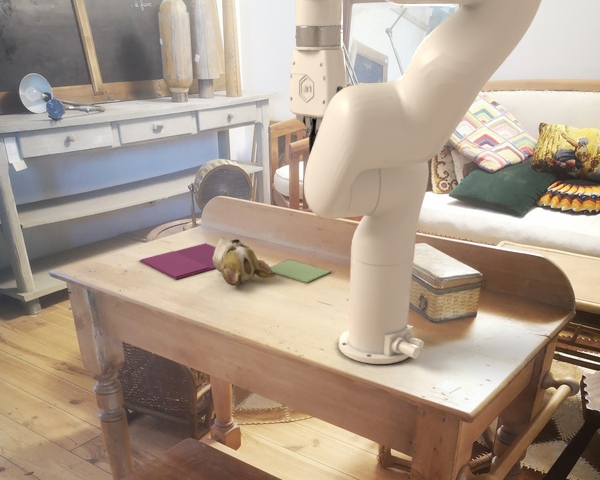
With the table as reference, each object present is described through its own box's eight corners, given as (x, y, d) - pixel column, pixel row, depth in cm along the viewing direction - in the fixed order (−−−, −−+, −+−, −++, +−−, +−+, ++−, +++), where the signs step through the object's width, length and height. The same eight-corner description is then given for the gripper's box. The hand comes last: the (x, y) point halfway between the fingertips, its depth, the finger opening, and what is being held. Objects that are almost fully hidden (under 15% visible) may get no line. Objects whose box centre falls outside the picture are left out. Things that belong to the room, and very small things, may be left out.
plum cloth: (244, 260, 136) (244, 258, 136) (176, 279, 126) (176, 277, 126) (205, 244, 146) (205, 242, 146) (139, 261, 136) (139, 259, 136)
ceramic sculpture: (242, 224, 129) (278, 246, 119) (244, 262, 134) (279, 286, 124) (197, 233, 124) (231, 257, 114) (201, 272, 129) (233, 298, 119)
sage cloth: (330, 272, 129) (330, 271, 128) (306, 283, 123) (306, 281, 123) (289, 260, 135) (289, 259, 135) (265, 270, 130) (265, 269, 130)
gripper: (272, 39, 100) (276, 156, 109) (334, 40, 90) (332, 167, 100) (305, 38, 104) (306, 150, 114) (368, 39, 94) (363, 161, 104)
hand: (318, 158), depth 107 cm, fingers closed
